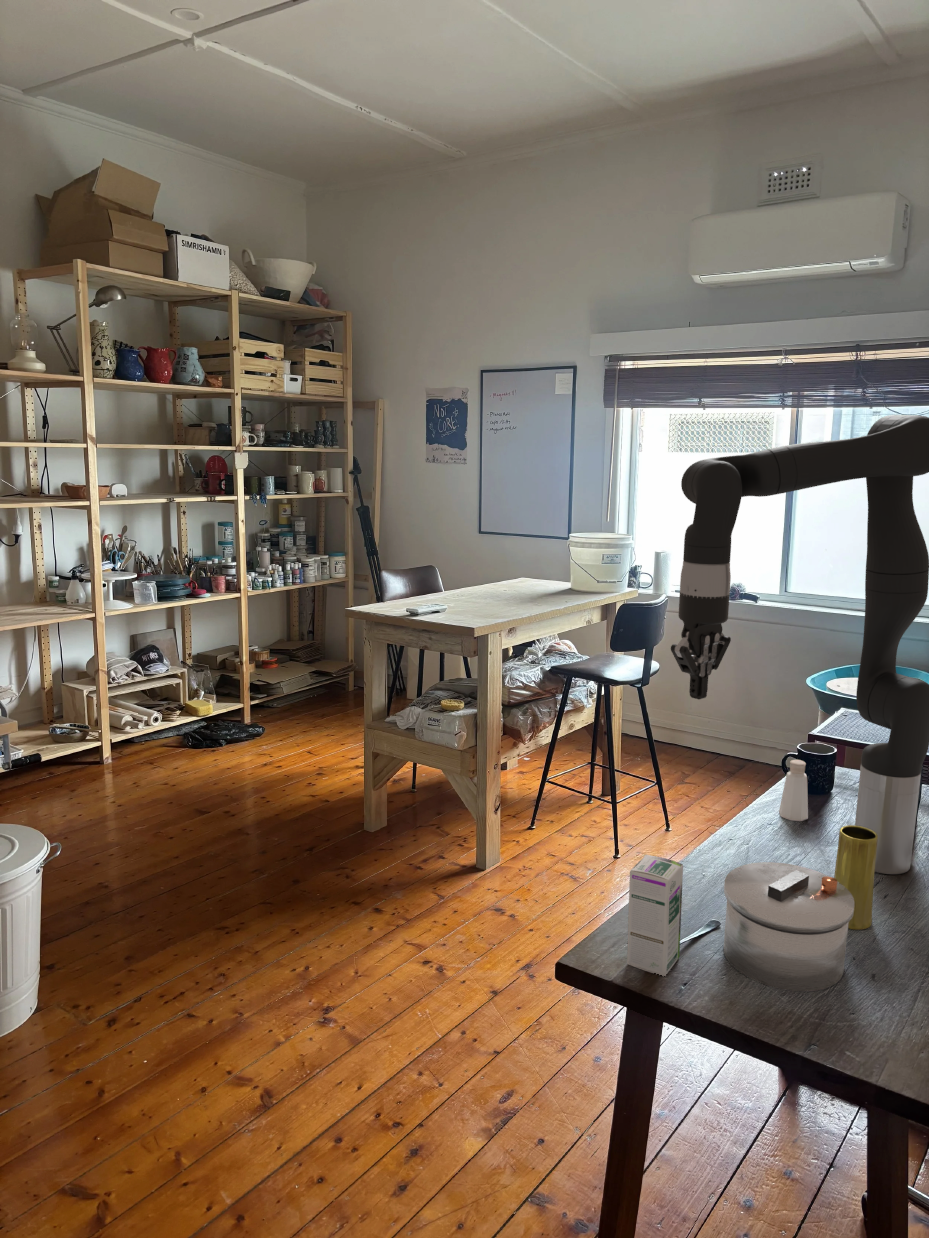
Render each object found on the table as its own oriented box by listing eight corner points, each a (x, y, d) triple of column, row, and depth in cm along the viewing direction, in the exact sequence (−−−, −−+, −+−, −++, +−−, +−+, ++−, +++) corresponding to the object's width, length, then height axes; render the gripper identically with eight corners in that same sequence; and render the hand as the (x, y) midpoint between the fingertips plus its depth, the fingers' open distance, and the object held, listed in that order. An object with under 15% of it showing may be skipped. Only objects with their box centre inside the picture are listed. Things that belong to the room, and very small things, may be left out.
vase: (875, 932, 134) (885, 843, 132) (832, 927, 136) (840, 839, 133) (866, 911, 140) (875, 825, 137) (824, 907, 142) (832, 821, 139)
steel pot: (763, 914, 139) (768, 861, 137) (865, 961, 127) (872, 903, 125) (700, 952, 129) (704, 895, 127) (804, 1007, 117) (810, 944, 115)
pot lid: (767, 858, 138) (768, 841, 137) (876, 903, 125) (878, 884, 125) (699, 894, 127) (700, 875, 127) (811, 947, 115) (813, 926, 114)
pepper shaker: (804, 823, 171) (809, 768, 169) (775, 817, 174) (779, 762, 172) (811, 813, 176) (816, 760, 174) (782, 807, 179) (787, 754, 176)
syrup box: (665, 978, 123) (671, 879, 120) (624, 964, 126) (629, 868, 123) (679, 957, 128) (685, 862, 125) (640, 945, 131) (644, 852, 128)
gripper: (698, 598, 134) (692, 711, 138) (750, 589, 142) (742, 695, 146) (658, 591, 140) (652, 699, 143) (709, 583, 148) (703, 685, 152)
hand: (698, 697), depth 145 cm, fingers closed
